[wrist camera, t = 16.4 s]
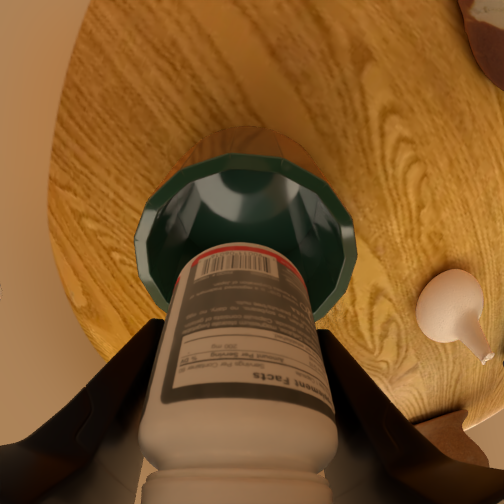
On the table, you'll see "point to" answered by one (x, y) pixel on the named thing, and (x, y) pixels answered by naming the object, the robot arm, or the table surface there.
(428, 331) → the garlic bulb
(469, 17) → the bread
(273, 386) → the pill bottle
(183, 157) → the pot
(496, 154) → the table surface
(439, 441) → the stone cup
